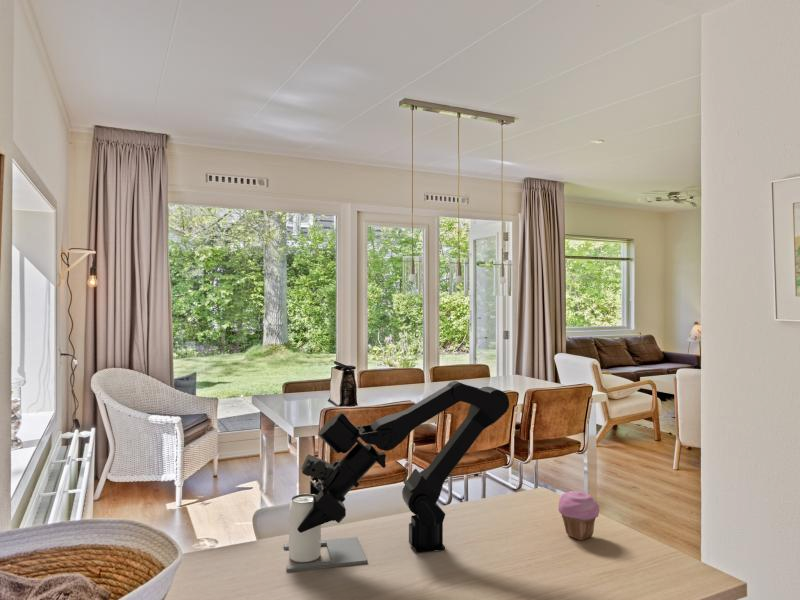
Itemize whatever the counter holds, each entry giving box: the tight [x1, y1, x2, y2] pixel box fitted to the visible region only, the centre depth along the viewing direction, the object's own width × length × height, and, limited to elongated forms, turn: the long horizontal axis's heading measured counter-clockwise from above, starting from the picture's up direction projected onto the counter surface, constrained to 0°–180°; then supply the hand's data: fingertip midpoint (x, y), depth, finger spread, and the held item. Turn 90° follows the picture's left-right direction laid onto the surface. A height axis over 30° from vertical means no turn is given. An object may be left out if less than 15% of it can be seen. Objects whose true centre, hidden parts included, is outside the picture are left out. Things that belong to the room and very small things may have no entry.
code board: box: [283, 536, 369, 573], centre depth 117 cm, size 16×12×1 cm
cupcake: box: [558, 490, 600, 541], centre depth 127 cm, size 9×9×10 cm
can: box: [288, 493, 322, 564], centre depth 116 cm, size 6×6×12 cm
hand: (298, 524), depth 115 cm, fingers closed on can, 6 cm apart
